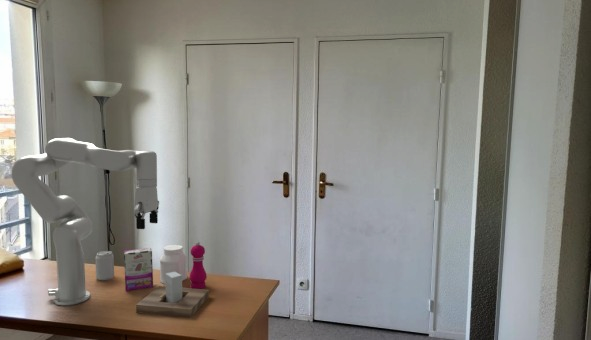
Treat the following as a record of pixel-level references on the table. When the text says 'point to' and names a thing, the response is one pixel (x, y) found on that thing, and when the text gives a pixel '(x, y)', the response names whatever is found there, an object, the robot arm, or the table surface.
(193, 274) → the pepper mill
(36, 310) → the table surface
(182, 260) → the jar
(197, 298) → the board
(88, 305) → the table surface
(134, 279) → the candy bar box
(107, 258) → the can
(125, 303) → the table surface
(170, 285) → the skincare box
